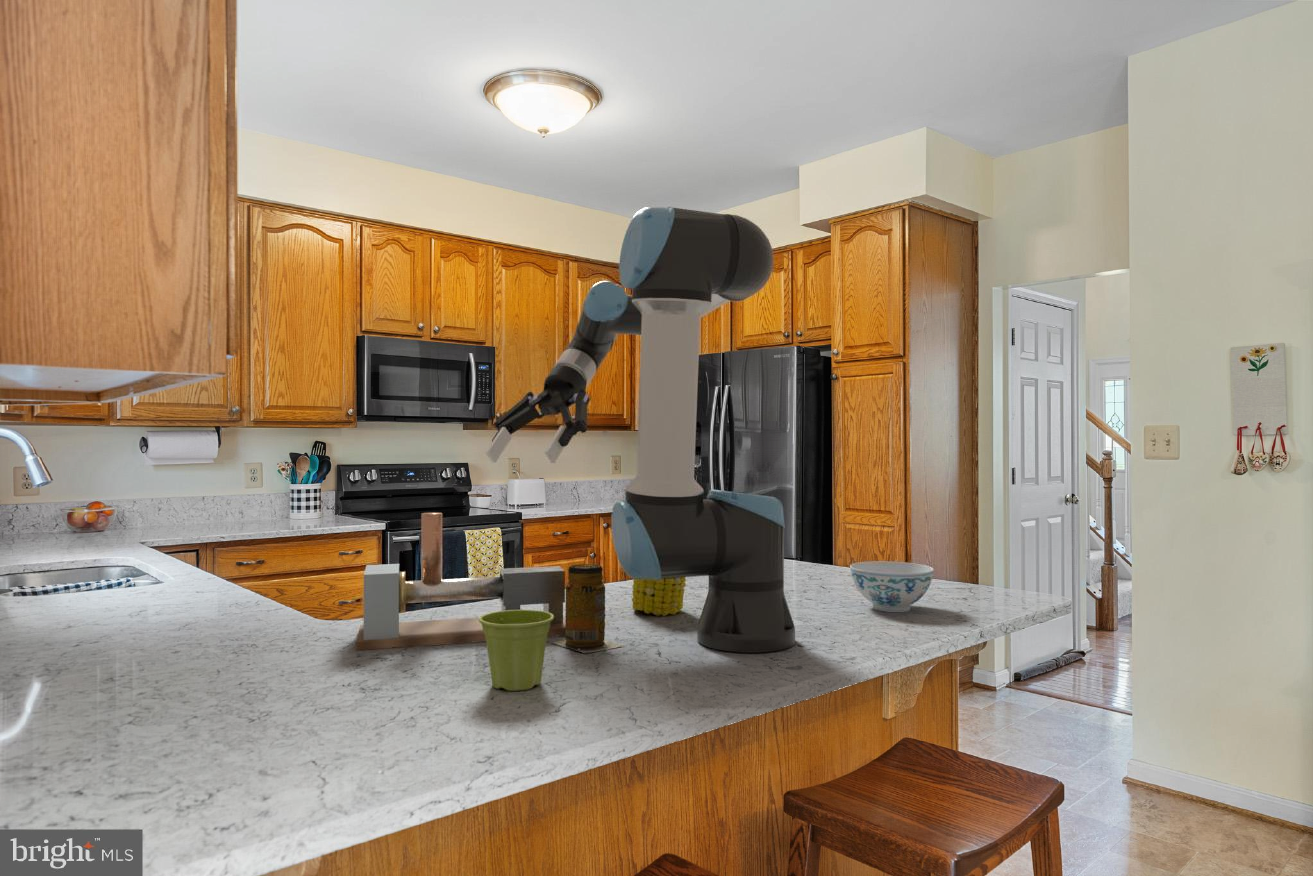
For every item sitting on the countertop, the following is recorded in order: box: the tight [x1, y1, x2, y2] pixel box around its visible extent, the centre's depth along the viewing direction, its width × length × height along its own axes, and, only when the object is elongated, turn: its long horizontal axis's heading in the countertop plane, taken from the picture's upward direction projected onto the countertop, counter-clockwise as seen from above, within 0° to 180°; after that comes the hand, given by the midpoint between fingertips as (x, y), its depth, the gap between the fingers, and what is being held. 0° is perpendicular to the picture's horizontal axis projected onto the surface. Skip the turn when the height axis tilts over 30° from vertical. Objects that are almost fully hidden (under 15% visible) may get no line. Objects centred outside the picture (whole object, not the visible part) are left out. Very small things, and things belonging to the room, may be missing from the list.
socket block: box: [363, 563, 400, 640], centre depth 126 cm, size 5×10×10 cm, turn 17°
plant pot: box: [478, 609, 554, 692], centre depth 103 cm, size 9×9×9 cm
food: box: [631, 577, 687, 617], centre depth 147 cm, size 15×12×10 cm
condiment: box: [552, 563, 623, 654], centre depth 123 cm, size 7×8×12 cm
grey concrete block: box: [499, 565, 566, 624], centre depth 133 cm, size 10×5×9 cm, turn 107°
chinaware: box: [849, 560, 935, 613], centre depth 150 cm, size 15×15×8 cm
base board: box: [355, 617, 566, 651], centre depth 130 cm, size 32×12×1 cm, turn 107°
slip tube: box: [399, 512, 503, 614], centre depth 129 cm, size 20×6×16 cm, turn 107°
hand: (519, 457), depth 143 cm, fingers open, 13 cm apart
